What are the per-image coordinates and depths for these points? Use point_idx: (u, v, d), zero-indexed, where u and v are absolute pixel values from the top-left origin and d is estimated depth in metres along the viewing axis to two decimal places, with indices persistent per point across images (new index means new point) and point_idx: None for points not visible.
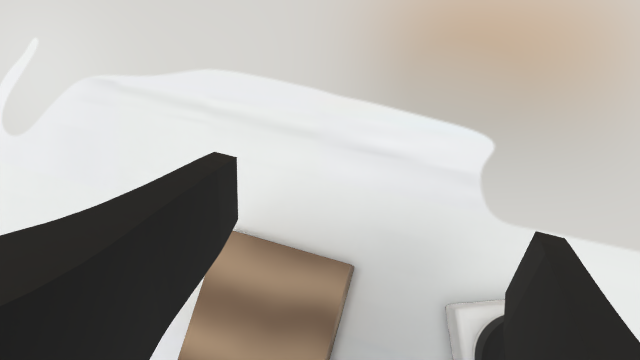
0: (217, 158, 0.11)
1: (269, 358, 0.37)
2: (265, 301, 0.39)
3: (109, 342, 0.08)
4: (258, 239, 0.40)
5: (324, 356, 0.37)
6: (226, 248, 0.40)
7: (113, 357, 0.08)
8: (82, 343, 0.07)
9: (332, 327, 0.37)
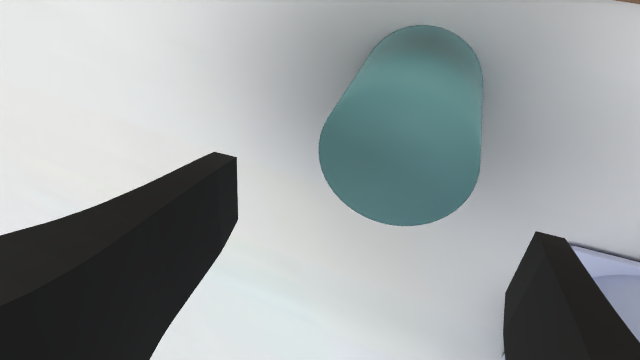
0: (217, 158, 0.11)
1: None
2: None
3: (109, 342, 0.08)
4: None
5: None
6: None
7: (113, 357, 0.08)
8: (82, 343, 0.07)
9: None
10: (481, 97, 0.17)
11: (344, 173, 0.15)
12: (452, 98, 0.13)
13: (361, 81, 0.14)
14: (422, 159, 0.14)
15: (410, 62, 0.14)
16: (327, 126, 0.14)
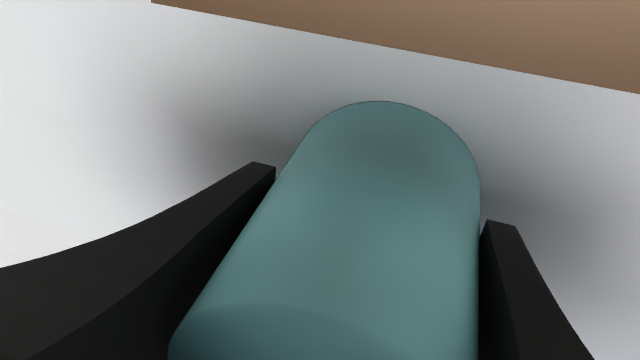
0: (257, 168, 0.11)
1: None
2: None
3: None
4: None
5: None
6: None
7: None
8: None
9: None
10: (478, 239, 0.10)
11: None
12: (416, 323, 0.06)
13: (244, 252, 0.07)
14: None
15: (340, 213, 0.07)
16: (175, 345, 0.07)
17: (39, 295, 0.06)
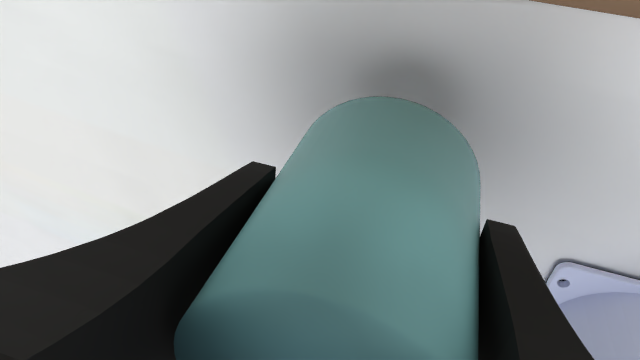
0: (257, 168, 0.11)
1: None
2: None
3: None
4: None
5: None
6: None
7: None
8: None
9: None
10: (478, 231, 0.10)
11: None
12: (418, 308, 0.06)
13: (249, 241, 0.08)
14: None
15: (342, 204, 0.08)
16: (182, 332, 0.07)
17: (39, 294, 0.06)
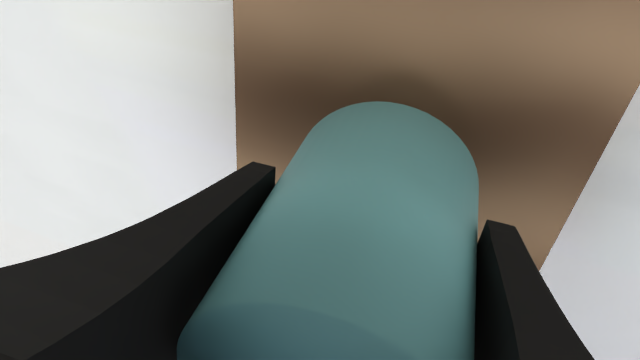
0: (257, 168, 0.11)
1: None
2: (403, 97, 0.15)
3: None
4: None
5: (569, 209, 0.15)
6: None
7: None
8: None
9: (600, 149, 0.14)
10: (476, 240, 0.10)
11: None
12: (418, 323, 0.06)
13: (252, 251, 0.08)
14: None
15: (345, 215, 0.08)
16: (185, 339, 0.07)
17: (39, 295, 0.06)
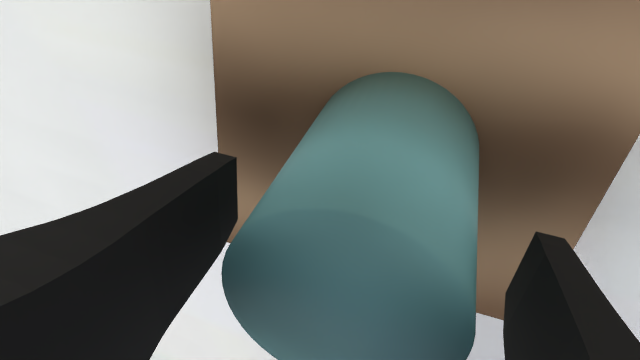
0: (217, 158, 0.11)
1: None
2: None
3: (109, 342, 0.08)
4: None
5: (576, 237, 0.14)
6: None
7: (113, 357, 0.08)
8: (82, 343, 0.07)
9: (612, 174, 0.12)
10: None
11: (263, 315, 0.10)
12: (433, 230, 0.08)
13: (290, 179, 0.09)
14: (383, 315, 0.09)
15: (370, 151, 0.09)
16: (232, 252, 0.09)
17: None
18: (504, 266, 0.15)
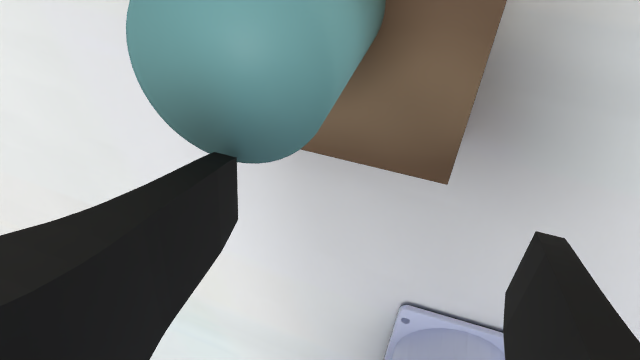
0: (217, 158, 0.11)
1: (349, 94, 0.17)
2: None
3: (109, 342, 0.08)
4: None
5: (478, 79, 0.15)
6: None
7: (113, 357, 0.08)
8: (82, 343, 0.07)
9: (501, 7, 0.14)
10: (370, 3, 0.13)
11: (166, 85, 0.11)
12: None
13: None
14: (259, 63, 0.10)
15: None
16: (131, 12, 0.10)
17: None
18: (420, 119, 0.17)
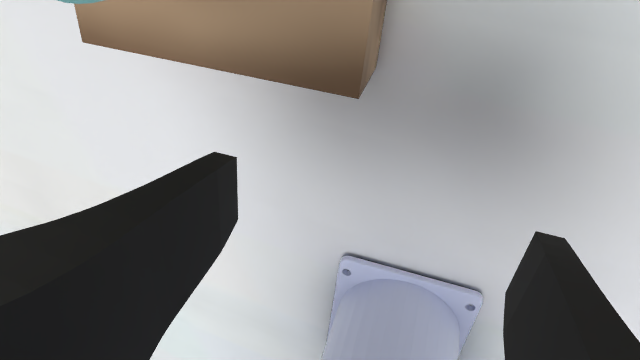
0: (217, 158, 0.11)
1: (250, 0, 0.16)
2: None
3: (109, 342, 0.08)
4: None
5: None
6: None
7: (113, 357, 0.08)
8: (82, 343, 0.07)
9: None
10: None
11: None
12: None
13: None
14: None
15: None
16: None
17: None
18: (323, 23, 0.16)
